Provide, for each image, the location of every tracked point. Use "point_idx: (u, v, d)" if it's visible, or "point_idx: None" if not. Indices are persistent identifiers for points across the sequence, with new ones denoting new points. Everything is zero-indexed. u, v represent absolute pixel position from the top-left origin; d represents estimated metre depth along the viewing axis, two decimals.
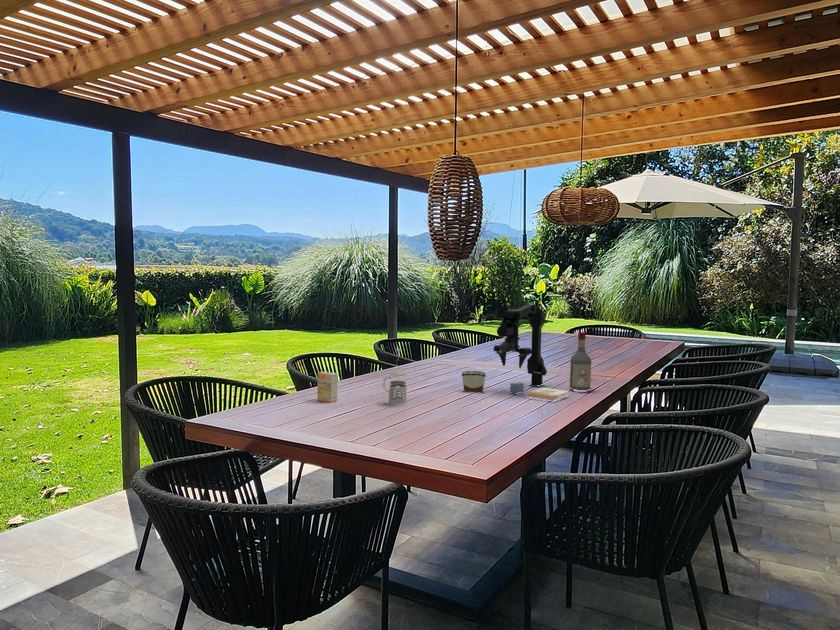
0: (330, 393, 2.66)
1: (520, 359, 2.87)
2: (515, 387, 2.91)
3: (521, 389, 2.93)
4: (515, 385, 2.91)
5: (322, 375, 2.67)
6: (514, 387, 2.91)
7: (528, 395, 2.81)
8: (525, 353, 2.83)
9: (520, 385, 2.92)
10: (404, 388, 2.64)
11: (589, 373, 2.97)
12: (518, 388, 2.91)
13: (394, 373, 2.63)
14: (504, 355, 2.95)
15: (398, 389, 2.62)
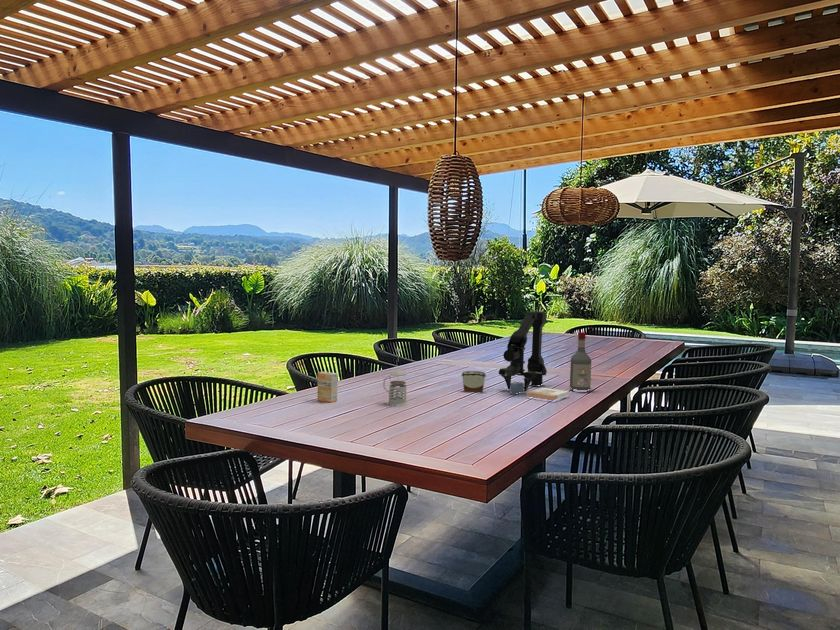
0: (330, 393, 2.66)
1: (525, 383, 2.89)
2: (515, 387, 2.91)
3: (521, 389, 2.93)
4: (515, 385, 2.91)
5: (322, 375, 2.67)
6: (514, 387, 2.91)
7: (528, 395, 2.81)
8: (530, 377, 2.86)
9: (520, 385, 2.92)
10: (404, 388, 2.64)
11: (589, 373, 2.97)
12: (518, 388, 2.91)
13: (394, 373, 2.63)
14: (509, 378, 2.98)
15: (398, 389, 2.62)
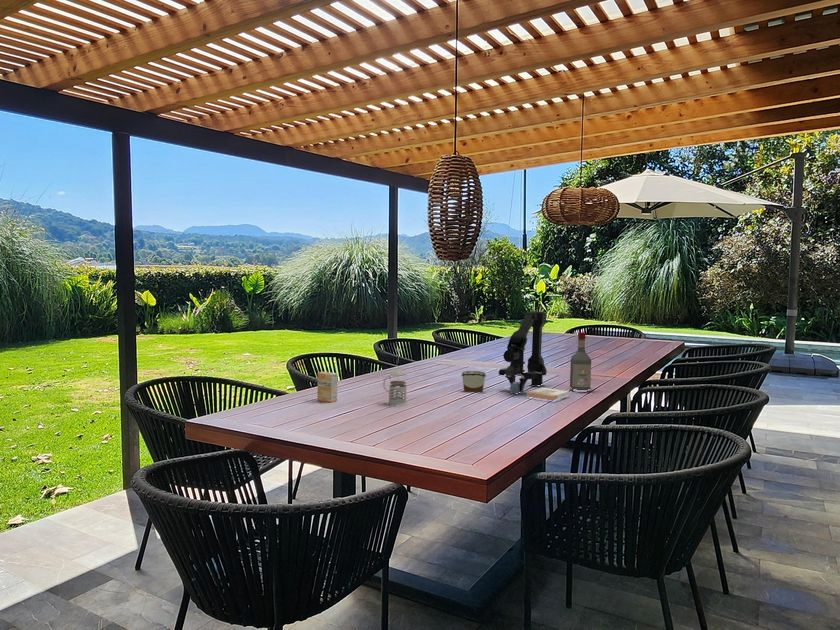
0: (330, 393, 2.66)
1: (521, 383, 2.91)
2: (515, 387, 2.91)
3: None
4: (515, 385, 2.91)
5: (322, 375, 2.67)
6: (514, 387, 2.91)
7: (528, 395, 2.81)
8: (530, 378, 2.86)
9: None
10: (404, 388, 2.64)
11: (589, 373, 2.97)
12: (518, 388, 2.91)
13: (394, 373, 2.63)
14: (513, 379, 2.96)
15: (398, 389, 2.62)
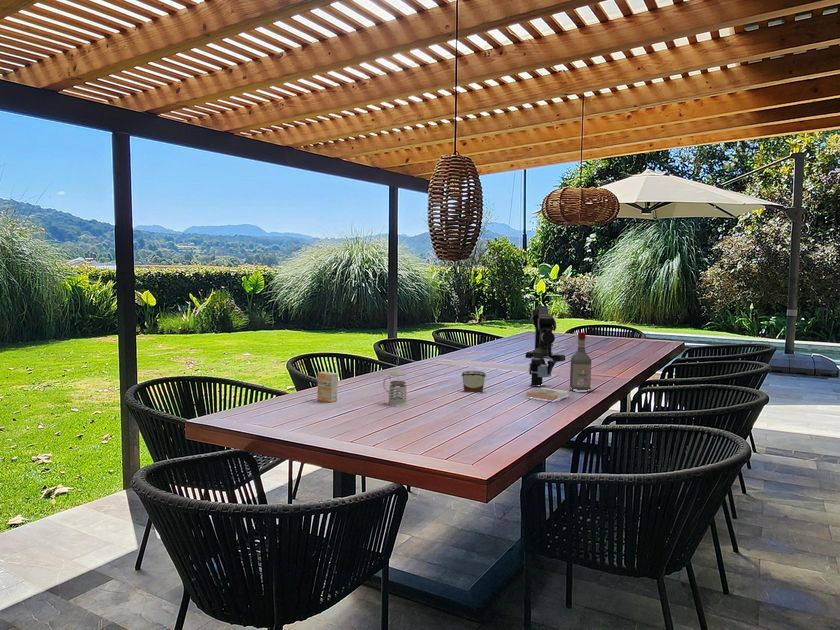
0: (330, 393, 2.66)
1: (549, 365, 2.80)
2: (543, 370, 2.80)
3: None
4: (543, 368, 2.80)
5: (322, 375, 2.67)
6: (542, 370, 2.81)
7: (528, 395, 2.81)
8: (559, 360, 2.75)
9: None
10: (404, 388, 2.64)
11: (589, 373, 2.97)
12: (546, 371, 2.80)
13: (394, 373, 2.63)
14: (541, 363, 2.85)
15: (398, 389, 2.62)
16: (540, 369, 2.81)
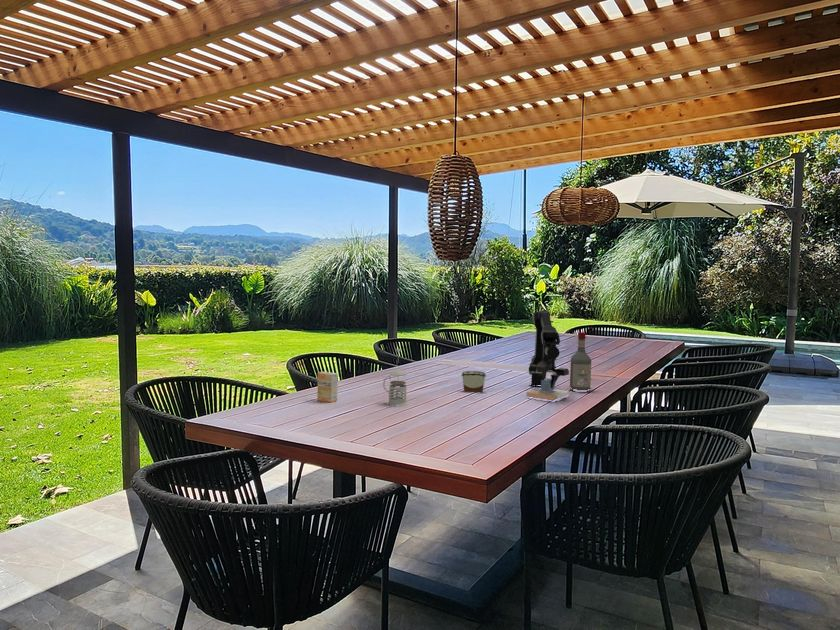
0: (330, 393, 2.66)
1: (552, 379, 2.80)
2: (546, 384, 2.80)
3: None
4: (546, 382, 2.80)
5: (322, 375, 2.67)
6: (545, 384, 2.80)
7: (528, 395, 2.81)
8: (563, 374, 2.75)
9: None
10: (404, 388, 2.64)
11: (589, 373, 2.97)
12: (549, 385, 2.80)
13: (394, 373, 2.63)
14: (544, 376, 2.85)
15: (398, 389, 2.62)
16: (543, 383, 2.81)
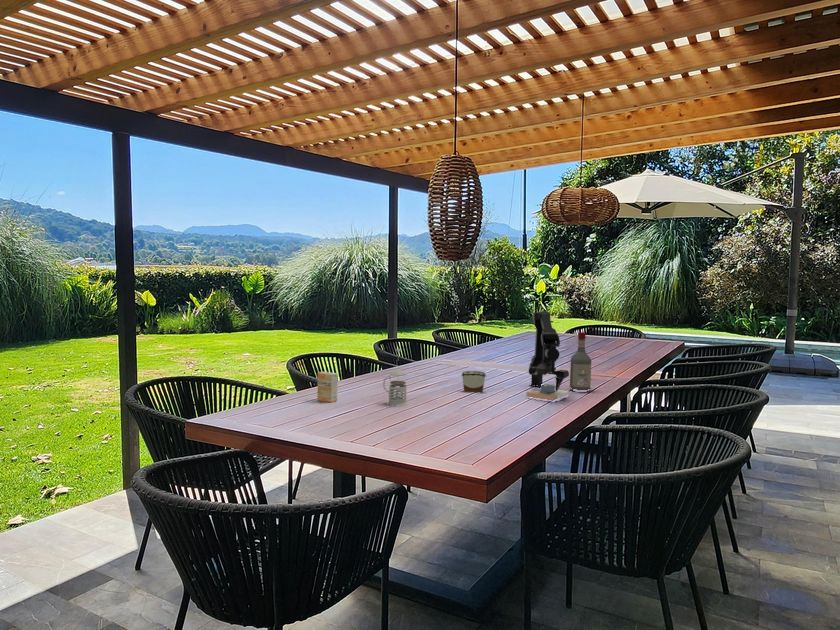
0: (330, 393, 2.66)
1: (557, 382, 2.78)
2: (546, 390, 2.80)
3: (552, 392, 2.83)
4: (546, 387, 2.80)
5: (322, 375, 2.67)
6: (545, 390, 2.80)
7: (528, 395, 2.81)
8: (563, 376, 2.75)
9: (551, 387, 2.81)
10: (404, 388, 2.64)
11: (589, 373, 2.97)
12: (549, 391, 2.80)
13: (394, 373, 2.63)
14: (540, 377, 2.86)
15: (398, 388, 2.62)
16: (543, 389, 2.81)
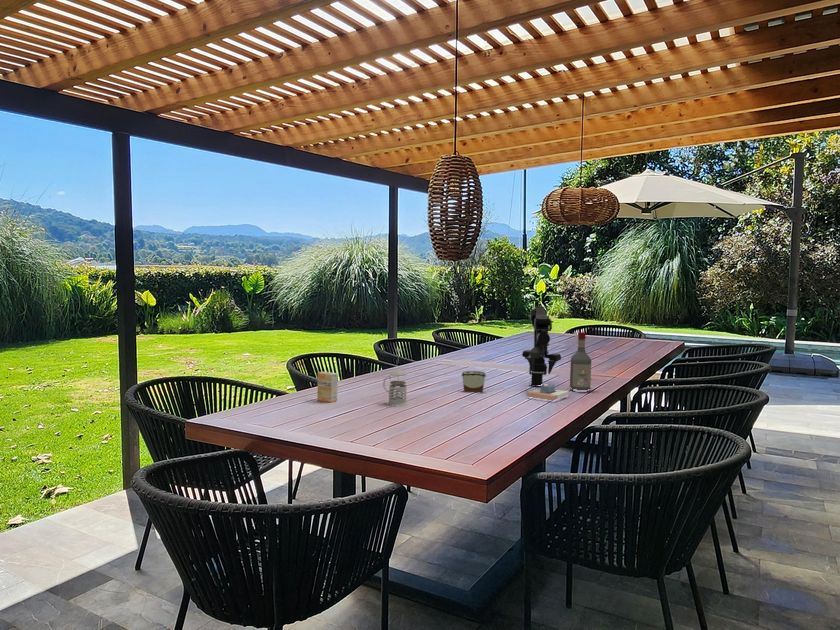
0: (330, 393, 2.66)
1: (550, 365, 2.89)
2: (546, 390, 2.80)
3: (552, 392, 2.83)
4: (546, 387, 2.80)
5: (322, 375, 2.67)
6: (545, 390, 2.80)
7: (528, 395, 2.81)
8: (555, 359, 2.85)
9: (551, 387, 2.81)
10: (404, 388, 2.64)
11: (589, 373, 2.97)
12: (549, 391, 2.80)
13: (394, 373, 2.63)
14: (533, 360, 2.97)
15: (398, 389, 2.62)
16: (543, 389, 2.81)
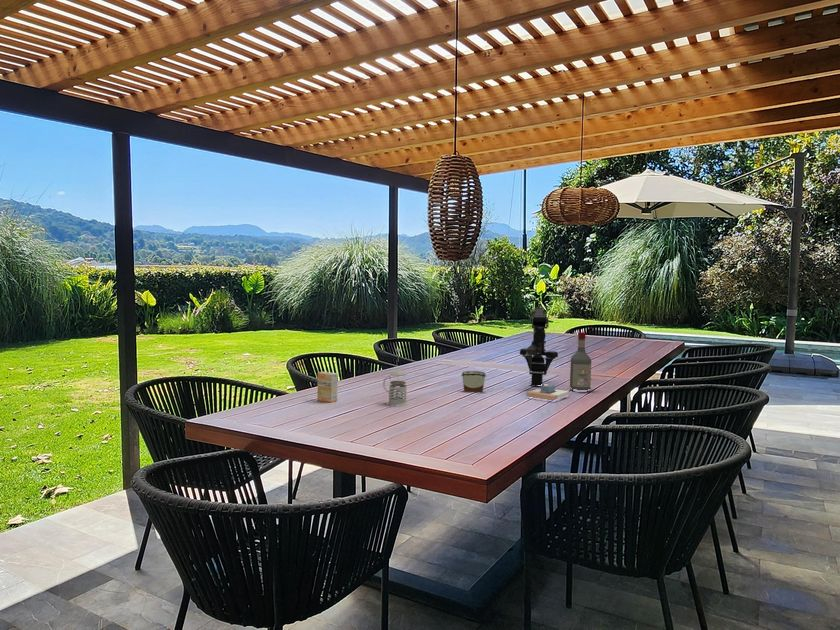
0: (330, 393, 2.66)
1: (547, 362, 2.92)
2: (546, 390, 2.80)
3: (552, 392, 2.83)
4: (546, 387, 2.80)
5: (322, 375, 2.67)
6: (545, 390, 2.80)
7: (528, 395, 2.81)
8: (552, 356, 2.89)
9: (551, 387, 2.81)
10: (404, 388, 2.64)
11: (589, 373, 2.97)
12: (549, 391, 2.80)
13: (394, 373, 2.63)
14: (530, 358, 3.01)
15: (398, 389, 2.62)
16: (543, 389, 2.81)
